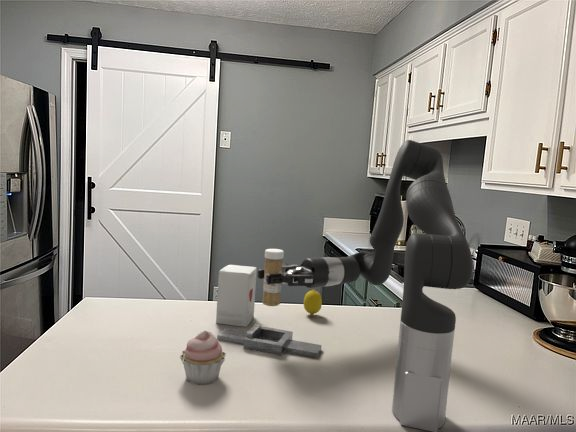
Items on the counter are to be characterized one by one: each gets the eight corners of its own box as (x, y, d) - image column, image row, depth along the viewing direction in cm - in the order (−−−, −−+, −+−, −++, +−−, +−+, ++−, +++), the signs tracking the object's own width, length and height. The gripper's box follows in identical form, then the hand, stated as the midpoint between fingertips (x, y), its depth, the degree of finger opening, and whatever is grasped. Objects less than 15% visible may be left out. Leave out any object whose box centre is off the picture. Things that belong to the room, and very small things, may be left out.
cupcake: (179, 391, 78) (181, 340, 77) (178, 368, 87) (179, 322, 86) (228, 387, 81) (231, 338, 80) (222, 365, 90) (224, 321, 89)
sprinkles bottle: (259, 305, 100) (261, 250, 99) (266, 299, 104) (269, 247, 103) (276, 308, 99) (279, 252, 97) (283, 302, 103) (286, 249, 101)
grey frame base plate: (314, 362, 94) (315, 347, 94) (212, 342, 101) (213, 329, 101) (323, 346, 103) (324, 333, 103) (229, 329, 110) (229, 317, 110)
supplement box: (246, 327, 113) (249, 273, 111) (215, 323, 114) (217, 270, 112) (254, 316, 121) (257, 266, 120) (225, 313, 123) (227, 263, 121)
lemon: (299, 315, 125) (301, 289, 124) (307, 310, 130) (309, 286, 129) (316, 319, 122) (318, 293, 121) (323, 314, 127) (325, 289, 126)
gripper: (308, 252, 113) (251, 255, 105) (339, 263, 101) (276, 268, 93) (307, 279, 114) (249, 284, 106) (337, 293, 102) (275, 300, 94)
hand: (262, 276), depth 99 cm, fingers closed on sprinkles bottle, 4 cm apart
